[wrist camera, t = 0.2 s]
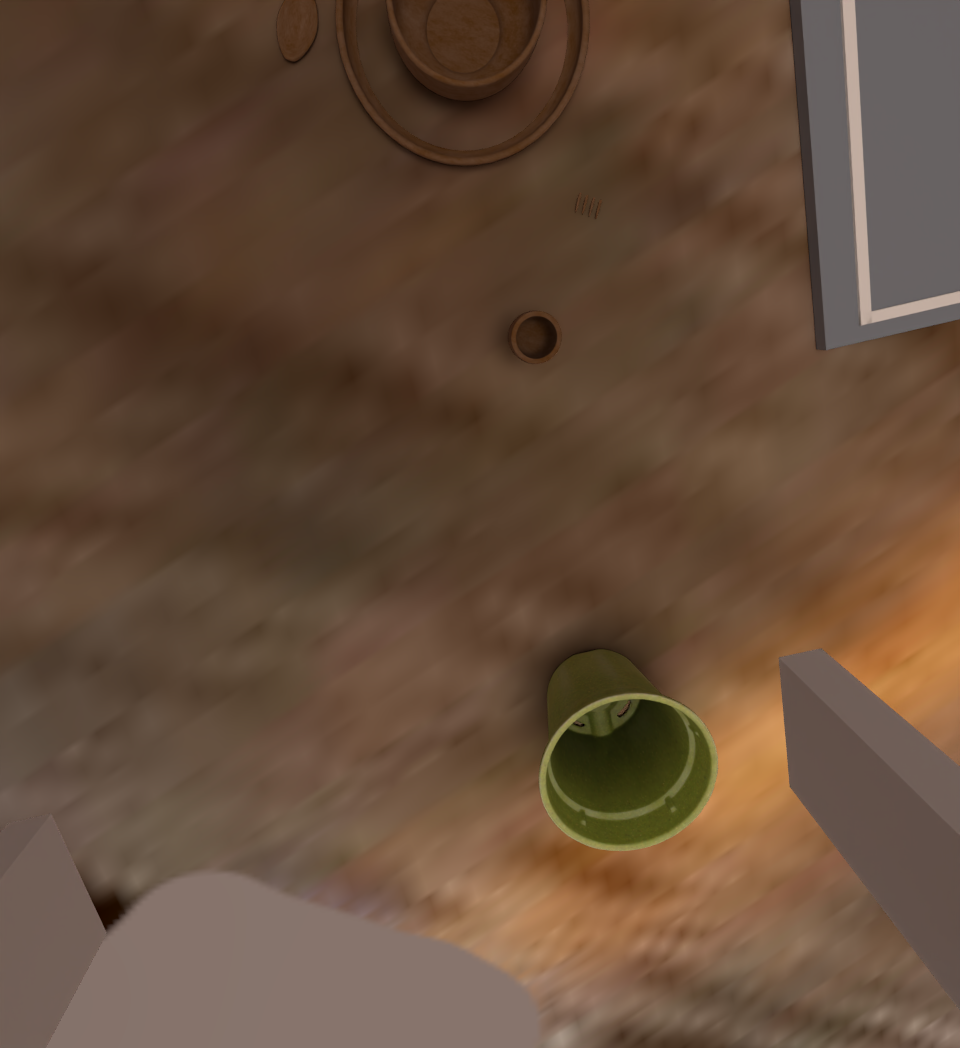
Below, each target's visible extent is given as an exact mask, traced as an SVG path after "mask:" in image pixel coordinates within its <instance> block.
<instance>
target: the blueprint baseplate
mask: <svg viewBox="0 0 960 1048" xmlns="http://www.w3.org/2000/svg"><path fill="white" fill-rule="evenodd" d="M790 11H791V24H792V37H793V50H794V63H795V76H796V89H797V102H798V115H799V128H800V141H801V154H802V167H803V180H804V192H805V205H806V218H807V231H808V244H809V257H810V270H811V283H812V296H813V309H814V322H815V335H816V348H817V349H819V350H829V349H833V348H837V347H842V346H846V345H850V344H854V343H859V342H863V341H867V340H872V339H876V338H880V337H885V336H889V335H893V334H898V333H902V332H906V331H911V330H915V329H919V328H923V327H928V326H932V325H936V324H941V323H945V322H949V321H954V320H958V319H960V0H790Z"/></svg>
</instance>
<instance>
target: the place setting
mask: <svg viewBox="0 0 960 1048" xmlns="http://www.w3.org/2000/svg"><path fill="white" fill-rule="evenodd" d="M564 2H565V6H566V13H567V22H568V41H567V49H566V57H565V61H564V65H563V70H562V73H561V76H560V78H559V81H558V84H557V86H556V88H555V90H554V92H553V94H552V96H551V98H550V100H549V101H548V103H547V104H546V106H545V107H544V109H543V110H542V112H541V113H540V114H539V115H538V116H537V117H536V119H535V120H534V121H533V122H532V123H531V124H530V125H528V126H527V127H526V128H525V129H524V130H523V131H521V132H520V133H518V134H517V135H515V136H514V137H513V138H511V139H509V140H507V141H505V142H503V143H501V144H498V145H495V146H492V147H489V148H485V149H480V150H472V151H458V150H449V149H445V148H441V147H437V146H434V145H431V144H429V143H427V142H424V141H422V140H420V139H419V138H417V137H415V136H413V135H412V134H410V133H409V132H408V131H406V130H405V129H404V128H402V127H401V126H400V125H399V124H398V123H397V122H396V121H395V120H394V119H393V118H392V117H391V116H390V115H389V114H388V113H387V112H386V110H385V109H384V108H383V106H382V105H381V104H380V103H379V101H378V99H377V98H376V96H375V94H374V93H373V91H372V89H371V87H370V85H369V82H368V80H367V78H366V76H365V73H364V70H363V67H362V64H361V60H360V56H359V51H358V45H357V35H356V11H357V5H358V0H336V15H335V18H336V30H337V39H338V44H339V49H340V54H341V58H342V61H343V64H344V67H345V70H346V73H347V76H348V78H349V80H350V82H351V85H352V87H353V89H354V91H355V93H356V95H357V97H358V98H359V100H360V102H361V103H362V105H363V107H364V108H365V110H366V111H367V112H368V114H369V115H370V116H371V117H372V119H373V120H374V121H375V123H376V124H377V125H378V126H379V127H380V128H381V129H382V130H383V131H384V132H385V133H386V134H387V135H388V136H390V137H391V138H392V139H394V140H395V141H396V142H397V143H399V144H400V145H401V146H403V147H404V148H406V149H408V150H410V151H411V152H413V153H415V154H417V155H419V156H421V157H424V158H426V159H429V160H431V161H435V162H439V163H443V164H448V165H457V166H477V165H483V164H488V163H493V162H496V161H499V160H502V159H505V158H508V157H510V156H512V155H514V154H516V153H518V152H520V151H522V150H523V149H525V148H526V147H527V146H529V145H530V144H532V143H533V142H535V141H536V140H537V139H538V138H539V137H540V136H541V135H543V134H544V133H545V132H546V131H547V130H548V129H549V128H550V126H551V125H552V124H553V123H554V122H555V121H556V119H557V118H558V117H559V116H560V114H561V113H562V111H563V109H564V108H565V106H566V105H567V103H568V102H569V100H570V98H571V96H572V94H573V92H574V90H575V88H576V86H577V83H578V81H579V78H580V75H581V72H582V69H583V66H584V62H585V57H586V53H587V47H588V39H589V3H588V0H564ZM546 6H547V0H386V7H387V13H388V19H389V24H390V29H391V33H392V36H393V40H394V43H395V45H396V48H397V50H398V52H399V55H400V57H401V58H402V60H403V62H404V63H405V65H406V67H407V68H408V69H409V71H410V72H411V73H412V75H413V76H414V77H415V78H416V79H417V80H418V81H419V82H420V83H421V84H423V85H424V86H425V87H426V88H428V89H429V90H431V91H433V92H434V93H436V94H438V95H441V96H443V97H445V98H449V99H453V100H459V101H474V100H479V99H483V98H486V97H489V96H492V95H494V94H496V93H497V92H499V91H501V90H502V89H504V88H505V87H507V86H508V85H509V84H510V83H511V82H512V81H513V80H514V79H515V78H516V77H517V76H518V75H519V74H520V72H521V71H522V70H523V68H524V67H525V65H526V64H527V62H528V60H529V59H530V57H531V54H532V52H533V50H534V48H535V46H536V43H537V40H538V38H539V35H540V32H541V29H542V26H543V23H544V18H545V14H546ZM317 28H318V12H317V6H316V2H315V0H284V2H283V4H282V6H281V8H280V10H279V13H278V17H277V24H276V29H277V38H278V43H279V46H280V50H281V52H282V54H283V56H284V58H285V59H287V60H289V61H292V62H295V61H298V60H299V59H300V58H302V57H303V56H304V54H305V53H306V52H307V51H308V49H309V48H310V46H311V45H312V43H313V41H314V39H315V36H316V33H317ZM580 199H581V193H579V195H578V199H577V203H576V209H575V213H576V211H577V209H578V206H579V202H580ZM587 200H588V195H587V196H586V197H585V200H584V204H583V209H582V215H583V213H584V210H585V207H586V204H587ZM594 202H595V197H594V198H593V199H592V201H591V205H590V210H589V216H590V214H591V212H592V208H593V205H594ZM601 203H602V200H600V201H599V203H598V207H597V211H596V217H595V219H596V218H597V216H598V213H599V210H600V206H601ZM561 341H562V332H561V328H560V326H559V324H558V322H557V321H556V319H555V318H554V317H552V316H551V315H550V314H548V313H545V312H542V311H529V312H526V313H524V314H521V315H520V316H518V317H517V318H516V319H515V320H514V321H513V323H512V324H511V326H510V329H509V333H508V342H509V346H510V348H511V350H512V352H513V353H514V354H515V355H516V356H517V357H518V358H519V359H521V360H523V361H525V362H527V363H532V364H539V363H543V362H546V361H548V360H550V359H551V358H552V357H554V355H555V354H556V353H557V352H558V350H559V348H560V345H561Z"/></svg>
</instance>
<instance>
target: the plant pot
mask: <svg viewBox="0 0 960 1048" xmlns="http://www.w3.org/2000/svg"><path fill="white" fill-rule="evenodd" d="M629 700H630V702H631V703H630V706H629V709H628V710H627V712H626V713H625V714H624V715H623V716H621V717H618V716H617V714H618V713H619V712H620V711H621V710H622V709H623V708H624V706H625V705H626V704H627V703H628V701H629ZM547 709H548V738H549V741H548V743H547V746H546V748H545V750H544V753H543V756H542V759H541V763H540V769H539V789H540V794H541V799H542V802H543V805H544V807H545V809H546V811H547V813H548V815H549V817H550V818H551V819H552V821H553V822H554V823H555V824H556V825H557V826H558V827H559V828H560V829H561V830H562V831H563V832H564V833H565V834H567V835H568V836H569V837H571V838H573V839H574V840H576V841H578V842H580V843H582V844H585V845H587V846H590V847H593V848H597V849H603V850H611V851H628V850H636V849H641V848H646V847H650V846H652V845H655V844H658V843H660V842H663V841H665V840H667V839H669V838H671V837H672V836H674V835H676V834H677V833H679V832H680V831H682V830H683V829H684V828H686V827H687V826H688V825H689V824H690V823H691V822H692V821H693V820H694V819H695V818H696V817H697V816H698V815H699V814H700V812H701V811H702V809H703V808H704V806H705V805H706V803H707V802H708V800H709V798H710V796H711V794H712V792H713V789H714V785H715V782H716V777H717V772H718V757H717V751H716V747H715V743H714V740H713V738H712V736H711V734H710V732H709V730H708V728H707V727H706V725H705V724H704V723H703V722H702V720H701V719H700V718H699V717H698V716H697V715H696V714H695V713H694V712H693V711H692V710H690V709H689V708H688V707H686V706H685V705H683V704H682V703H680V702H678V701H676V700H674V699H672V698H669V697H666V696H663V695H662V694H661V693H660V692H659V691H658V690H657V689H656V688H655V687H654V686H653V685H652V684H651V683H650V682H649V680H648V679H647V678H646V677H645V676H644V675H643V674H642V673H641V672H640V671H639V670H638V669H637V668H636V667H635V666H634V665H633V664H632V662H631V661H630V660H628V659H627V658H626V657H624V656H623V655H621V654H619V653H616V652H613V651H610V650H605V649H597V650H593V651H590V652H585V653H581V654H575V655H573V656H571V657H570V658H568V659H567V660H565V661H564V662H563V663H562V664H561V665H560V666H559V667H558V668H557V669H556V670H555V672H554V674H553V675H552V677H551V680H550V682H549V686H548V690H547ZM575 721H578V722H580V723H583V724H585V725H584V726H582V727H579V726H576V725H574V724H572V723H573V722H575Z"/></svg>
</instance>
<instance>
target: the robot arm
mask: <svg viewBox="0 0 960 1048" xmlns="http://www.w3.org/2000/svg"><path fill="white" fill-rule="evenodd" d="M779 666H780V677H781V689H782V701H783V712H784V724H785V736H786V747H787V759H788V771H789V783H790V788H791V789H792V790H793V791H794V793H795V794H796V795H797V797H798V798H799V799H800V801H801V802H802V803H803V805H804V806H805V807H806V809H807V810H808V811H809V813H810V814H811V815H812V816H813V818H814V819H815V820H816V822H817V823H818V824H819V826H820V827H821V828H822V830H823V831H824V832H825V834H826V835H827V836H828V838H829V839H830V840H831V841H832V843H833V844H834V845H835V847H836V848H837V849H838V851H839V852H840V853H841V855H842V856H843V857H844V859H845V860H846V861H847V863H848V864H849V865H850V866H851V868H852V869H853V870H854V872H855V873H856V874H857V876H858V877H859V878H860V880H861V881H862V882H863V884H864V885H865V886H866V888H867V889H868V890H869V892H870V893H871V894H872V895H873V897H874V898H875V899H876V901H877V902H878V903H879V905H880V906H881V907H882V909H883V910H884V911H885V913H886V914H887V915H888V917H889V918H890V919H891V920H892V922H893V923H894V924H895V926H896V927H897V928H898V930H899V931H900V932H901V934H902V935H903V936H904V938H905V939H906V940H907V942H908V943H909V944H910V945H911V947H912V948H913V949H914V951H915V952H916V953H917V955H918V956H919V957H920V959H921V960H922V961H923V963H924V964H925V965H926V967H927V968H928V969H929V970H930V972H931V973H932V974H933V976H934V977H935V978H936V980H937V981H938V982H939V984H940V985H941V986H942V988H943V989H944V990H945V992H946V993H947V994H948V995H949V997H950V998H951V999H952V1001H953V1002H954V1003H955V1005H956V1006H957V1007H958V1009H959V1010H960V766H958V765H957V764H956V763H955V762H954V761H953V760H951V759H950V758H949V757H948V756H947V755H946V754H944V753H943V752H942V751H941V750H940V749H939V748H937V747H936V746H935V745H934V744H933V743H931V742H930V741H929V740H928V739H927V738H926V737H924V736H923V735H922V734H921V733H920V732H919V731H917V730H916V729H915V728H914V727H913V726H912V725H910V724H909V723H908V722H907V721H906V720H904V719H903V718H902V717H901V716H900V715H899V714H897V713H896V712H895V711H894V710H893V709H892V708H890V707H889V706H888V705H887V704H886V703H885V702H883V701H882V700H881V699H880V698H879V697H877V696H876V695H875V694H874V693H873V692H872V691H870V690H869V689H868V688H867V687H866V686H865V685H863V684H862V683H861V682H860V681H859V680H858V679H856V678H855V677H854V676H853V675H852V674H850V673H849V672H848V671H847V670H846V669H845V668H843V667H842V666H841V665H840V664H839V663H838V662H836V661H835V660H834V659H833V658H832V657H831V656H829V655H828V654H827V653H826V652H825V651H824V650H822V649H817V650H812V651H807V652H803V653H798V654H793V655H789V656H784V657H779ZM106 934H107V933H106V931H105V929H104V927H103V924H102V922H101V920H100V918H99V916H98V914H97V911H96V909H95V907H94V905H93V903H92V901H91V899H90V896H89V894H88V892H87V890H86V888H85V886H84V883H83V881H82V879H81V877H80V875H79V873H78V871H77V868H76V866H75V864H74V862H73V860H72V858H71V855H70V853H69V851H68V849H67V847H66V845H65V842H64V840H63V838H62V836H61V834H60V832H59V830H58V827H57V825H56V823H55V821H54V819H53V817H52V814H48V815H43V816H38V817H34V818H29V819H24V820H20V821H15V822H10V823H8V824H7V825H6V827H5V828H4V829H3V830H2V831H1V832H0V1048H46V1046H47V1045H48V1043H49V1041H50V1039H51V1037H52V1035H53V1033H54V1031H55V1030H56V1028H57V1026H58V1024H59V1022H60V1020H61V1018H62V1016H63V1015H64V1012H65V1011H66V1009H67V1007H68V1005H69V1003H70V1001H71V1000H72V998H73V996H74V994H75V992H76V990H77V988H78V986H79V985H80V983H81V981H82V979H83V977H84V975H85V973H86V971H87V970H88V968H89V966H90V964H91V962H92V960H93V958H94V956H95V955H96V953H97V951H98V949H99V947H100V945H101V943H102V941H103V940H104V938H105V936H106Z"/></svg>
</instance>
